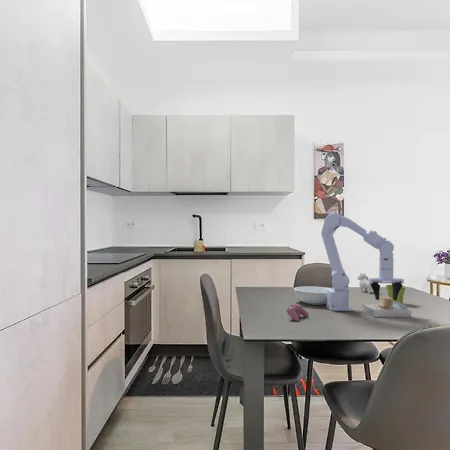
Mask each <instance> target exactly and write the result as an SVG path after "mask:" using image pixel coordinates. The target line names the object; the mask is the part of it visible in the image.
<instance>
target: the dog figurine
mask: <svg viewBox="0 0 450 450" xmlns="http://www.w3.org/2000/svg"><path fill="white" fill-rule="evenodd" d="M356 279H357V280H358V281H359V282H358V283H359V284H358V285H359V287H360V290H359V293H363V290H364V292H365V291H367V294H368V293H370V294H371V291H372V294H374V291H373V289H372V286H371V285H370V283H369V276H367V275H366V273H359V275H357V277H356Z"/></svg>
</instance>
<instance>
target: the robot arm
mask: <svg viewBox="0 0 450 450" xmlns="http://www.w3.org/2000/svg"><path fill="white" fill-rule="evenodd" d="M340 227H343V228H348V229H350V230H352V231H353V232H354V233H356V234H358V235H360V236H362V238H363V242H365V243H367V244H368V245H370V246H371V247H373V248H374V249H376V250H378V251H379V259H378V262H379V264H378V266H379V267H378V268H379V270H378V277H370V278H369V277H368V279H369V283H370V285H371V286H372V289H373V290H372V289H371V290H372V292H373V291H374V293H373V294H374V298H375V300H377V301H380V289H381V285H380V284H391V285H392V288H393V300H397V296H398V293H399V291H400V289H401V288H402V286H403V284H404V281H405V279H404V278H399V277H398V278H396V277H395V278H394V253H393V252H394V250H395V245H394V244H393V242H392V241H390V240H387V237H383V236H382V235H380V234H378V231H376V230H371V229H370V230H366V229H365V228H363V227H362V226H361V225H360V224H358V223H357V222H355V221H353V219H350V218H348V217H346V216H344V215H342V214H340V213H337V212H330V213H329V214H328V215H327V216H326V217H325V219H324V221H323V226H322V229H321V238H322V240H323V241H322V242H323V243H324V249H325V252H326V254H327V258H328V262H329V266H330V268H331V278H332V280H331V284H332V288H331V289H332V290H328V291H327V303H326V309H328V310H330V311H334V312H335V311H337V312H339V311H341V312H342V311H344V312H345V311H347V312H352V311H353V310H352V308H350V303H349V302H350V288H349V287H348V286H349V285H350V278H349V277H348V275H347V274H346V272H345V270H344V268H343V265H342V261H341V258H340V254H339V251H338V248H337V244H336V241H335V237H334V234H335V232H337V229H339V228H340Z"/></svg>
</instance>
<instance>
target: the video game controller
mask: <svg viewBox="0 0 450 450" xmlns="http://www.w3.org/2000/svg"><path fill="white" fill-rule="evenodd" d="M286 312H287V315H288V316H289V317H290V318H291V319H292V320H293V321H295V322H299V321H300V318H301V316H302V317H305V318H308V317H309V312H308V311H307V310H306V309H305V308H304V307H303V306H302V305H301V304H300V303H292V304H290V305H288V307H287V308H286Z"/></svg>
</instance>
